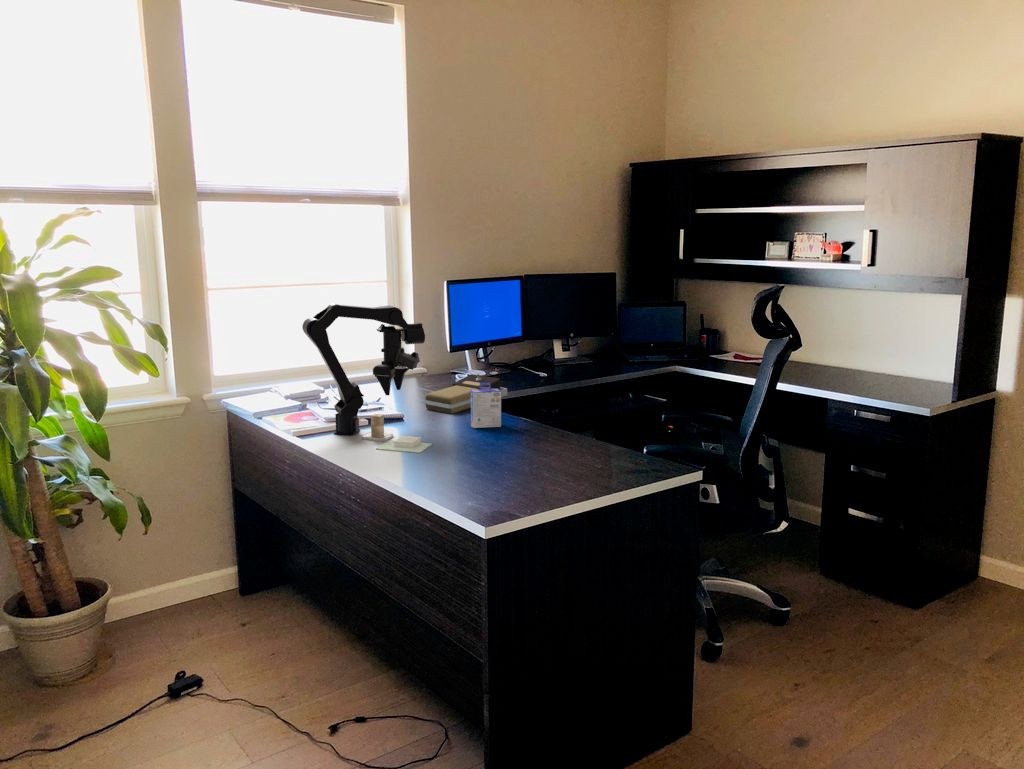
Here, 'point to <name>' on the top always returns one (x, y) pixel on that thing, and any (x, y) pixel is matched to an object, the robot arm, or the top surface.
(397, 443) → the tile
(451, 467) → the top surface
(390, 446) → the mat
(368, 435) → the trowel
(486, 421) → the ink cartridge box
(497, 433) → the top surface
